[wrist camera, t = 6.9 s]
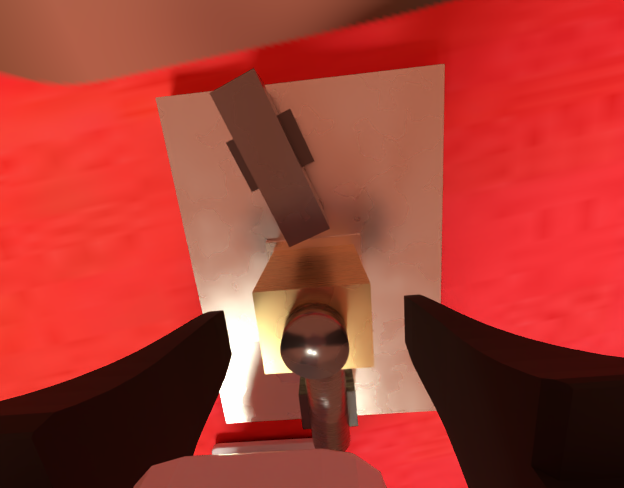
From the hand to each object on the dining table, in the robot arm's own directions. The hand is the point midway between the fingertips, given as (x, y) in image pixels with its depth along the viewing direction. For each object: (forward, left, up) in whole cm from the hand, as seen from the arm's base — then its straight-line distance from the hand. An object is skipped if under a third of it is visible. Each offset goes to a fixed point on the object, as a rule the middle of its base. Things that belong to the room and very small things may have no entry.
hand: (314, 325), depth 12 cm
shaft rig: (0, 0, -7) cm, 7 cm away
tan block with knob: (0, 0, -5) cm, 5 cm away
